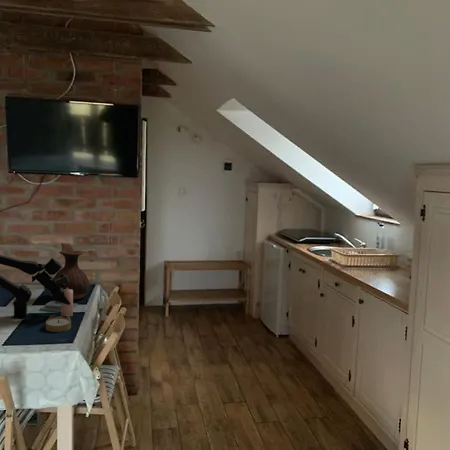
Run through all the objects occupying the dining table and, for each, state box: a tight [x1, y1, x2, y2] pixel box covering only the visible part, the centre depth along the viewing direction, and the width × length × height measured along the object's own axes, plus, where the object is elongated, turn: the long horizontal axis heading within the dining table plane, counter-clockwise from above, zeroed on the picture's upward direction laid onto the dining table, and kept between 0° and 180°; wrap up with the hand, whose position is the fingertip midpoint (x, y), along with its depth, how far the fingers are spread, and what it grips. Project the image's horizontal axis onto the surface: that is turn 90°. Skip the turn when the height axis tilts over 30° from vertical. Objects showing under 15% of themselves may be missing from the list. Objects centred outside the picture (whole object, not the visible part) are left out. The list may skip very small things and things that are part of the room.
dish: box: [39, 300, 79, 313], centre depth 267 cm, size 14×14×3 cm
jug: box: [53, 242, 91, 301], centre depth 287 cm, size 22×22×30 cm
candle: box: [60, 288, 74, 318], centre depth 253 cm, size 6×6×14 cm
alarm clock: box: [45, 315, 72, 333], centre depth 236 cm, size 11×5×15 cm
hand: (70, 302), depth 254 cm, fingers closed on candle, 6 cm apart
